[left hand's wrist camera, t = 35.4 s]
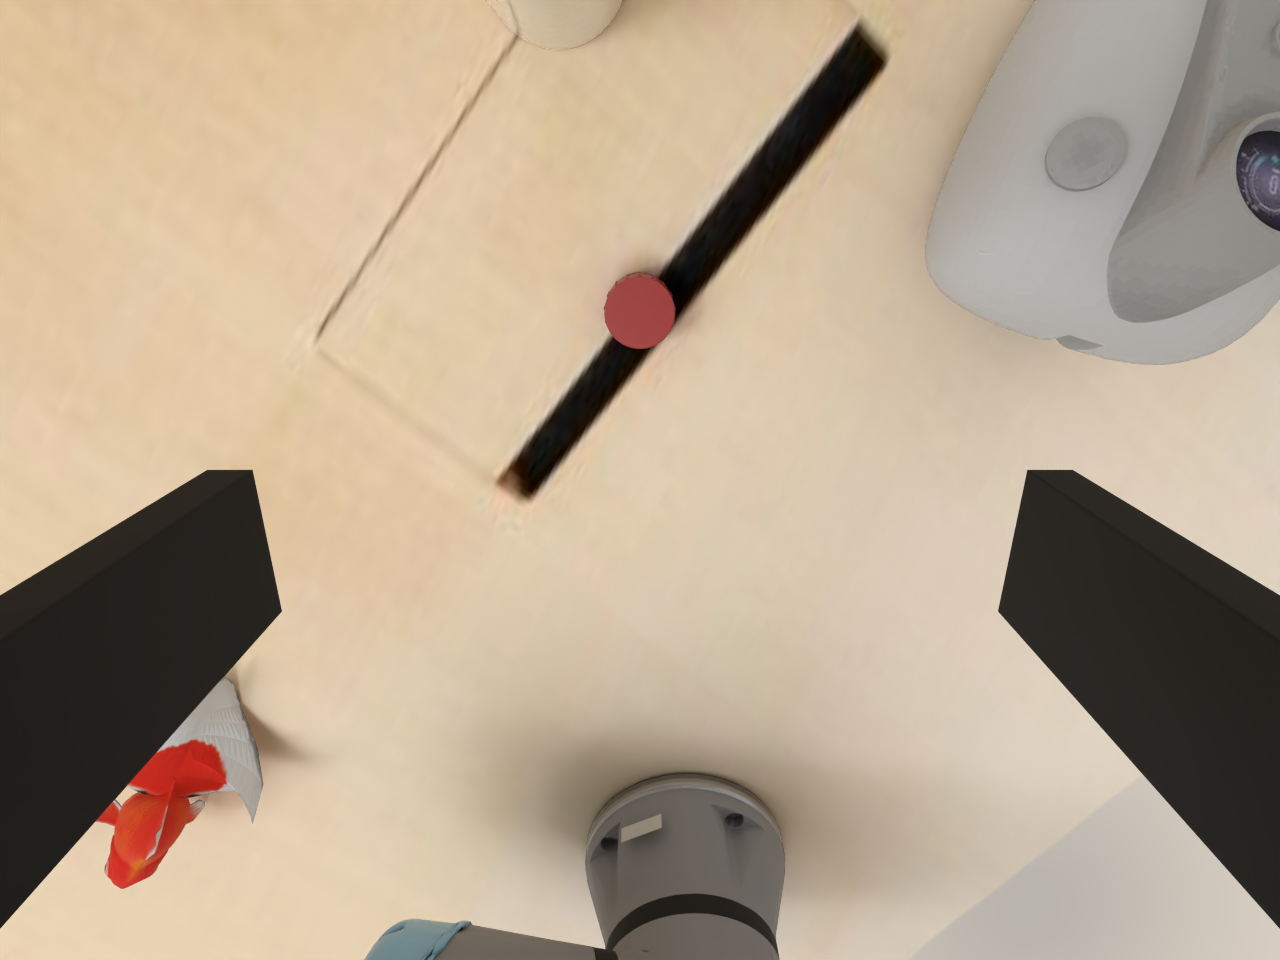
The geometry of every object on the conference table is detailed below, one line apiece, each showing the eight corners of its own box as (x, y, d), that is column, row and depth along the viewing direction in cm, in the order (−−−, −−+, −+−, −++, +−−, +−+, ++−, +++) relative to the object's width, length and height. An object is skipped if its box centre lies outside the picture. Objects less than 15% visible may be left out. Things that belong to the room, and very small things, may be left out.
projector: (1367, 211, 39) (1759, 213, 25) (976, 422, 43) (1131, 521, 30) (1263, -231, 32) (1720, -553, 19) (812, 70, 37) (914, -12, 23)
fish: (4, 804, 48) (-29, 915, 40) (172, 619, 51) (172, 689, 43) (157, 850, 54) (154, 955, 46) (300, 683, 57) (321, 755, 49)
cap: (616, 349, 42) (615, 358, 40) (596, 283, 41) (594, 287, 38) (681, 331, 42) (683, 338, 39) (663, 263, 40) (664, 266, 38)
